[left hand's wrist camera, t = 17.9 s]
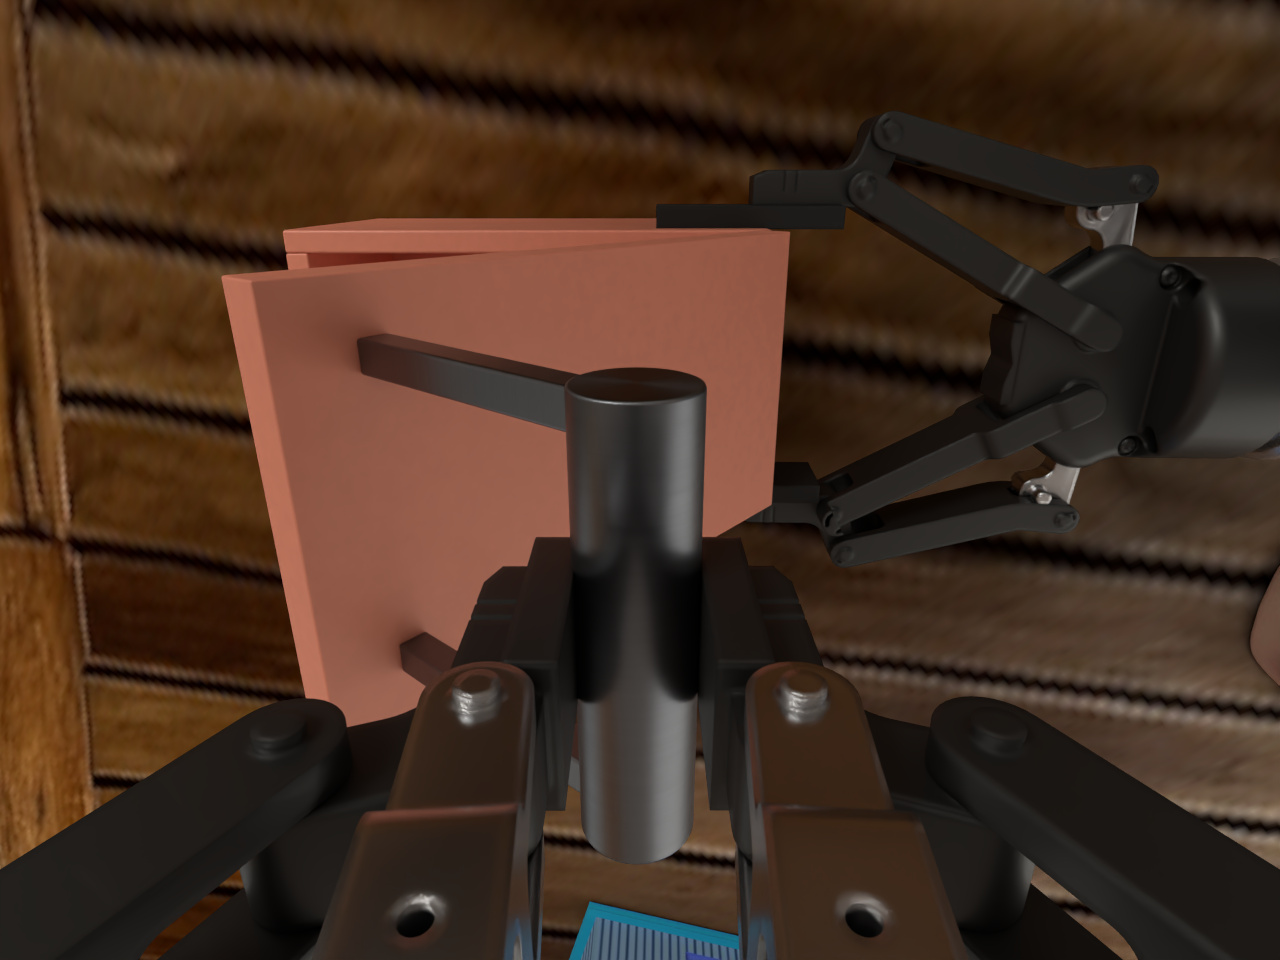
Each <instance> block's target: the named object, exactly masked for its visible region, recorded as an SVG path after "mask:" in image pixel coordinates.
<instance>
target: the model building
mask: <svg viewBox="0 0 1280 960" xmlns="http://www.w3.org/2000/svg"><path fill="white" fill-rule="evenodd" d="M569 960H740V957H739V936H737V935H733V934H728V933H724V932H720V931H715V930H711V929H707V928H702V927H698V926H694V925H689V924H685V923H681V922H676V921H672V920H668V919H663V918H659V917H655V916H650V915H646V914H641V913H637V912H633V911H628V910H624V909H620V908H615V907H611V906H607V905H602V904H598V903H594V902H590V903H589V905H588V908H587V911H586V914H585V917H584V919H583V922H582V925H581V928H580V931H579V933H578V936H577V939H576V942H575V945H574V947H573V950H572V953H571V956H570V959H569Z"/></svg>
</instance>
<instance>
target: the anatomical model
mask: <svg viewBox="0 0 1280 960" xmlns="http://www.w3.org/2000/svg"><path fill="white" fill-rule="evenodd" d="M1250 646H1251V651H1252V654H1253V656H1254V658H1255V659H1256V661H1257V662H1258V664H1259V665H1260V666H1261V667H1262V668H1263V670H1264V671H1265V672H1266V673H1267V674H1268V675H1269V676H1270V677H1271V678H1272V679H1273V680H1274V681H1275V682H1276V683H1277V684H1278V685H1279V686H1280V566H1279V567H1278V569H1277V571H1276V572H1275V574H1274V576H1273V578H1272V580H1271V582H1270V584H1269V586H1268V588H1267V591H1266V593H1265V595H1264V597H1263V599H1262V601H1261V603H1260V606H1259V609H1258V611H1257V615H1256V618H1255V622H1254V625H1253V629H1252V632H1251V638H1250Z"/></svg>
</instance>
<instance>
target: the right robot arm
mask: <svg viewBox="0 0 1280 960" xmlns="http://www.w3.org/2000/svg"><path fill="white" fill-rule="evenodd" d="M894 161H897V162H900V163H904V164H907V165H910V166H914V167H917V168H920V169H924V170H927V171H930V172H934V173H937V174H940V175H944V176H947V177H951V178H954V179H957V180H961V181H964V182H967V183H971V184H974V185H977V186H981V187H984V188H987V189H991V190H994V191H997V192H1001V193H1004V194H1007V195H1011V196H1014V197H1017V198H1021V199H1024V200H1028V201H1031V202H1036V203H1040V204H1048V205H1063V206H1065V208H1064V210H1063V211H1064V215H1065V220H1066V222H1067V223H1068V224H1069V225H1070V226H1072V227H1075V228H1080V229H1083V230H1084V231H1086V232H1087V233H1088V235H1089V237H1090V243H1091V245H1090V246H1088V247H1086V248H1085V249H1083V250H1082V251H1080V252H1078V253H1077V254H1075V255H1074V256H1072V257H1071V258H1069V259H1068V260H1066V261H1064V262H1063V263H1061V264H1060V265H1058V266H1057V267H1055V268H1054V269H1052V270H1050V271H1049V272H1047V273H1046V274H1042V273H1041V272H1039V271H1037V270H1035V269H1033V268H1032V267H1029V266H1027V265H1025V264H1023V263H1021V262H1019V261H1017V260H1016V259H1014V258H1013V257H1011V256H1010V255H1008V254H1006V253H1005V252H1003V251H1002V250H1000V249H998V248H997V247H995V246H994V245H992V244H990V243H989V242H987V241H986V240H984V239H982V238H981V237H979V236H978V235H976V234H974V233H973V232H971V231H970V230H968V229H966V228H965V227H963V226H962V225H960V224H958V223H957V222H955V221H954V220H952V219H950V218H949V217H947V216H946V215H944V214H943V213H941V212H939V211H938V210H936V209H935V208H933V207H931V206H930V205H928V204H927V203H925V202H923V201H922V200H920V199H919V198H917V197H915V196H914V195H912V194H911V193H909V192H907V191H906V190H904V189H903V188H901V187H899V186H898V185H896V184H895V183H893V182H891V181H890V180H888V179H887V175H888V173H889V171H890V169H891V167H892V164H893V162H894ZM1158 184H1159V176H1158V174H1157V172H1156V170H1155V169H1154V168H1152V167H1151V166H1146V165H1135V166H1111V167H1096V168H1084V167H1081V166H1077V165H1074V164H1071V163H1067V162H1064V161H1061V160H1058V159H1054V158H1051V157H1048V156H1044V155H1041V154H1038V153H1034V152H1031V151H1028V150H1025V149H1021V148H1018V147H1015V146H1011V145H1008V144H1005V143H1001V142H998V141H995V140H992V139H988V138H985V137H982V136H978V135H975V134H972V133H969V132H965V131H962V130H959V129H955V128H952V127H949V126H945V125H942V124H939V123H936V122H932V121H929V120H926V119H922V118H919V117H916V116H913V115H909V114H906V113H903V112H899V111H891V112H888V113H884V114H881V115H878V116H875V117H872V118H869V119H867V120H866V121H865V122H863V123H862V124H861V126H860V128H859V130H858V134H857V141H856V143H855V145H854V148H853V150H852V152H851V155H850V157H849V158H848V160H847V161H846V162H845V163H844V164H843V165H842V166H841V167H839V168H837V169H835V170H765V171H762V172H760V173H757V174H755V175H753V176H750V182H749V202H748V204H657V206H656V228H767V229H844V222H845V211H846V207H847V208H849V209H851V210H852V211H854V212H856V213H857V214H859V215H860V216H862V217H864V218H865V219H867V220H869V221H870V222H872V223H873V224H875V225H877V226H878V227H880V228H882V229H883V230H885V231H886V232H888V233H890V234H891V235H893V236H895V237H896V238H898V239H899V240H901V241H903V242H904V243H906V244H908V245H909V246H911V247H913V248H914V249H916V250H917V251H919V252H921V253H922V254H924V255H926V256H927V257H929V258H930V259H932V260H934V261H935V262H937V263H939V264H940V265H942V266H943V267H945V268H947V269H948V270H950V271H952V272H953V273H955V274H956V275H958V276H960V277H961V278H963V279H965V280H966V281H968V282H970V283H971V284H973V285H974V286H975V287H976V288H977V289H979V290H980V291H982V292H984V293H985V294H987V295H988V296H990V297H992V298H993V299H995V300H997V301H998V302H1000V303H1001V304H1003V306H1002V308H1001V309H1000V311H999V313H998V314H992V320H991V326H990V332H989V336H990V346H991V355H990V357H989V360H988V362H987V364H986V366H985V369H984V371H983V374H982V379H981V385H980V392H981V393H983V394H984V395H983V396H981V397H978V398H976V399H974V400H972V401H970V402H968V403H966V404H964V405H962V406H960V407H959V408H957V409H956V411H955V413H954V414H953V415H952V416H950V417H948V418H946V419H944V420H942V421H940V422H938V423H936V424H933V425H931V426H929V427H927V428H925V429H923V430H921V431H919V432H917V433H915V434H913V435H910V436H908V437H906V438H904V439H902V440H900V441H898V442H896V443H894V444H892V445H890V446H887V447H885V448H883V449H881V450H879V451H877V452H875V453H873V454H871V455H869V456H867V457H864V458H862V459H860V460H858V461H856V462H854V463H852V464H850V465H848V466H846V467H844V468H841V469H839V470H837V471H835V472H833V473H831V474H829V475H827V476H825V477H823V478H821V479H818V480H817V479H816V477H815V475H814V473H813V471H812V469H811V467H810V466H809V464H808V462H774V477H773V492H772V504H771V505H770V506H768V507H767V508H765V509H763V510H762V511H760V512H758V513H756V514H755V515H753V516H751V517H749V518H748V519H746V520H744V521H747V522H779V523H810V524H813V525H815V526H817V527H818V528H819V531H820V535H821V537H822V540H823V542H824V544H825V547H826V549H827V551H828V553H829V555H830V558H831V560H832V562H833V563H834V564H835V565H836V566H839V567H842V568H844V567H851V566H856V565H861V564H865V563H870V562H874V561H879V560H883V559H888V558H892V557H897V556H902V555H906V554H911V553H915V552H920V551H924V550H929V549H934V548H938V547H943V546H947V545H952V544H956V543H961V542H965V541H970V540H975V539H979V538H984V537H988V536H993V535H997V534H1002V533H1007V532H1011V531H1016V530H1025V531H1036V532H1047V533H1058V534H1061V533H1067V532H1069V531H1072V530H1073V529H1074V528H1075V527H1076V526H1077V524H1078V522H1079V513H1078V511H1077V510H1076V509H1074V508H1073V507H1072V506H1071V505H1070V504H1069V502H1070V499H1071V496H1072V493H1073V489H1074V486H1075V483H1076V480H1077V477H1078V474H1079V471H1080V468H1083V467H1086V466H1089V465H1092V464H1094V463H1096V462H1098V461H1100V460H1103V459H1106V458H1110V457H1117V456H1122V457H1140V458H1235V457H1239V456H1240V457H1246V458H1252V459H1280V258H1273V259H1270V260H1267V259H1262V258H1257V257H1151V256H1149V255H1147V254H1145V253H1143V252H1142V251H1141V250H1139V249H1138V248H1136V247H1134V246H1132V242H1133V235H1134V228H1135V221H1136V214H1137V207H1138V203H1140V202H1144V201H1146V200H1147V199H1149V198H1150V197H1151V196H1152V195H1153V194H1154V192H1155V191H1156V189H1157V186H1158ZM1031 445H1033V446H1034V447H1036V448H1037V449H1038V450H1039V451H1041V452H1042V453H1043V454H1045V455H1046V458H1045V460H1044V462H1043V463H1042V464H1041V465H1040V466H1039V467H1037V468H1035V469H1033V470H1027V471H1023V472H1022V471H1018V472H1015V473H1014V474H1013V475H1012V477H1011V481H994V482H986V483H981V484H976V485H972V486H967V487H963V488H958V489H954V490H950V491H945V492H941V493H937V494H932V495H928V496H923V497H919V498H915V499H910V500H906V501H901V502H897V503H893V504H890V503H892V502H894V501H896V500H899V499H901V498H903V497H905V496H907V495H909V494H912V493H914V492H916V491H918V490H920V489H922V488H925V487H927V486H929V485H931V484H933V483H935V482H938V481H940V480H942V479H944V478H946V477H948V476H951V475H953V474H955V473H957V472H959V471H961V470H964V469H966V468H968V467H970V466H972V465H974V464H977V463H979V462H981V461H983V460H986V459H1001V458H1004V457H1007V456H1009V455H1011V454H1013V453H1015V452H1018V451H1020V450H1022V449H1024V448H1026V447H1029V446H1031Z"/></svg>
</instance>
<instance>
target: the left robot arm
mask: <svg viewBox="0 0 1280 960" xmlns="http://www.w3.org/2000/svg"><path fill="white" fill-rule="evenodd" d="M697 696H698V705H699V714H700V723H701V733H702V742H703V751H704V760H705V769H706V778H707V787H708V796H709V805H710V810H729V812H730V820H731V827H732V833H733V837H734V839H735V842H736V852H735V871H736V893H737V914H738V936H739V957H740V960H1123V959H1121V958H1120V957H1119V956H1118V955H1117V954H1115V953H1114V952H1113V951H1112V950H1111V949H1109V948H1108V947H1107V946H1106V945H1104V944H1103V943H1102V942H1101V941H1100V940H1098V939H1097V938H1096V937H1095V936H1094V935H1092V934H1091V933H1090V932H1089V931H1088V930H1086V929H1085V928H1084V927H1083V926H1082V925H1080V924H1079V923H1078V922H1077V921H1076V920H1074V919H1073V918H1072V917H1071V916H1070V915H1068V914H1067V913H1066V912H1065V911H1064V910H1062V909H1061V908H1060V907H1059V906H1058V905H1056V904H1055V903H1054V902H1053V901H1052V900H1050V899H1049V898H1048V897H1047V896H1045V895H1044V894H1043V893H1042V892H1041V891H1039V890H1038V889H1037V888H1036V887H1035V886H1033V885H1032V884H1031V879H1032V875H1033V871H1034V867H1035V865H1036V866H1038V867H1039V868H1040V869H1041V870H1043V871H1044V872H1045V873H1046V874H1048V875H1049V876H1050V877H1051V878H1053V879H1054V880H1055V881H1056V882H1058V883H1059V884H1060V885H1061V886H1063V887H1064V888H1065V889H1066V890H1067V891H1069V892H1070V893H1071V894H1072V895H1074V896H1075V897H1076V898H1077V899H1079V900H1080V901H1081V902H1082V903H1084V904H1085V905H1086V906H1087V907H1089V908H1090V909H1091V910H1092V911H1094V912H1095V913H1096V914H1097V915H1099V916H1100V917H1101V918H1102V919H1104V920H1105V921H1106V922H1107V923H1109V924H1110V925H1111V926H1112V927H1113V928H1114V929H1116V930H1117V931H1118V932H1119V933H1120V934H1121V935H1122V936H1123V938H1124V939H1125V940H1126V941H1127V942H1128V944H1129V945H1130V946H1131V948H1132V950H1133V951H1134V953H1135V954H1136V956H1137V958H1138V960H1280V869H1278V868H1276V867H1275V866H1273V865H1272V864H1270V863H1269V862H1267V861H1265V860H1264V859H1262V858H1261V857H1259V856H1257V855H1256V854H1254V853H1253V852H1251V851H1249V850H1248V849H1246V848H1245V847H1243V846H1241V845H1240V844H1238V843H1237V842H1235V841H1234V840H1232V839H1230V838H1229V837H1227V836H1226V835H1224V834H1222V833H1221V832H1219V831H1218V830H1216V829H1214V828H1213V827H1211V826H1210V825H1208V824H1206V823H1205V822H1203V821H1202V820H1200V819H1199V818H1197V817H1195V816H1194V815H1192V814H1191V813H1189V812H1187V811H1186V810H1184V809H1183V808H1181V807H1179V806H1178V805H1176V804H1175V803H1173V802H1171V801H1170V800H1168V799H1167V798H1165V797H1164V796H1162V795H1160V794H1159V793H1157V792H1156V791H1154V790H1152V789H1151V788H1149V787H1148V786H1146V785H1144V784H1143V783H1141V782H1140V781H1138V780H1136V779H1135V778H1133V777H1132V776H1130V775H1129V774H1127V773H1125V772H1124V771H1122V770H1121V769H1119V768H1117V767H1116V766H1114V765H1113V764H1111V763H1109V762H1108V761H1106V760H1105V759H1103V758H1101V757H1100V756H1098V755H1097V754H1095V753H1094V752H1092V751H1090V750H1089V749H1087V748H1086V747H1084V746H1082V745H1081V744H1079V743H1078V742H1076V741H1074V740H1073V739H1071V738H1070V737H1068V736H1066V735H1065V734H1063V733H1062V732H1060V731H1059V730H1057V729H1055V728H1054V727H1052V726H1051V725H1049V724H1047V723H1046V722H1044V721H1043V720H1041V719H1039V718H1038V717H1036V716H1035V715H1033V714H1031V713H1029V712H1028V711H1026V710H1024V709H1022V708H1019V707H1017V706H1015V705H1012V704H1009V703H1006V702H1003V701H999V700H996V699H991V698H985V697H973V696H971V697H959V698H953V699H951V700H948V701H945V702H944V703H942V704H940V705H939V706H938V707H937V708H936V709H935V710H934V712H933V714H932V718H931V724H930V727H925V726H921V725H916V724H912V723H907V722H903V721H898V720H893V719H889V718H885V717H882V716H878V715H876V714H873V713H870V712H868V711H866V710H864V708H863V704H862V701H861V698H860V696H859V693H858V691H857V690H856V689H855V687H854V686H853V685H852V684H851V683H850V682H849V681H848V680H847V679H846V678H844V677H843V676H841V675H840V674H838V673H836V672H834V671H833V670H830V669H828V668H825V667H824V666H823V663H822V660H821V658H820V655H819V653H818V650H817V647H816V645H815V642H814V639H813V637H812V634H811V631H810V629H809V626H808V623H807V621H806V620H805V615H804V613H803V610H802V608H801V605H800V604H799V600H798V597H797V594H796V592H795V589H794V586H793V584H792V582H791V581H790V580H789V579H788V578H786V577H785V576H784V575H783V574H782V573H781V572H779V571H778V570H777V569H776V568H775V567H773V566H748V562H747V559H746V555H745V552H744V548H743V545H742V541H741V538H740V537H702V562H701V588H700V619H699V650H698V681H697ZM577 704H578V679H577V652H576V626H575V599H574V572H573V569H572V566H571V548H570V537H536V538H535V541H534V544H533V548H532V551H531V555H530V558H529V561H528V565H527V566H503V567H501V568H500V569H499V570H498V571H497V572H495V573H494V574H493V575H492V576H491V577H490V578H488V579H487V580H486V581H485V582H484V583H483V586H482V588H481V591H480V594H479V596H478V599H477V604H475V606H474V609H473V612H472V614H471V620H469V622H468V625H467V627H466V630H465V632H464V635H463V637H462V640H461V643H460V645H459V648H458V650H457V653H456V655H455V658H454V661H453V663H452V666H451V668H450V670H447V671H445V672H444V673H442V674H440V675H438V676H437V677H436V678H434V679H433V680H432V681H431V682H430V683H429V684H428V685H427V686H426V687H425V688H424V690H423V691H422V693H421V695H420V697H419V701H418V704H417V707H416V708H414V709H412V710H409V711H407V712H405V713H402V714H400V715H397V716H394V717H390V718H386V719H382V720H378V721H373V722H368V723H364V724H359V725H355V726H350V727H347V724H346V718H345V715H344V714H343V712H342V710H341V709H340V708H339V707H338V706H336V705H334V704H332V703H330V702H327V701H325V700H320V699H312V698H301V699H291V700H285V701H281V702H277V703H273V704H270V705H267V706H265V707H262V708H260V709H257V710H255V711H253V712H251V713H249V714H247V715H246V716H244V717H242V718H241V719H239V720H237V721H236V722H234V723H233V724H231V725H229V726H228V727H226V728H225V729H223V730H221V731H220V732H218V733H217V734H215V735H214V736H212V737H210V738H209V739H207V740H206V741H204V742H202V743H201V744H199V745H198V746H196V747H194V748H193V749H191V750H190V751H188V752H186V753H185V754H183V755H182V756H180V757H179V758H177V759H175V760H174V761H172V762H171V763H169V764H167V765H166V766H164V767H163V768H161V769H159V770H158V771H156V772H155V773H153V774H151V775H150V776H148V777H147V778H145V779H144V780H142V781H140V782H139V783H137V784H136V785H134V786H132V787H131V788H129V789H128V790H126V791H124V792H123V793H121V794H120V795H118V796H116V797H115V798H113V799H112V800H110V801H109V802H107V803H105V804H104V805H102V806H101V807H99V808H97V809H96V810H94V811H93V812H91V813H89V814H88V815H86V816H85V817H83V818H81V819H80V820H78V821H77V822H75V823H74V824H72V825H70V826H69V827H67V828H66V829H64V830H62V831H61V832H59V833H58V834H56V835H54V836H53V837H51V838H50V839H48V840H46V841H45V842H43V843H42V844H40V845H39V846H37V847H35V848H34V849H32V850H31V851H29V852H27V853H26V854H24V855H23V856H21V857H19V858H18V859H16V860H15V861H13V862H11V863H10V864H8V865H7V866H5V867H4V868H2V869H0V960H139V959H140V957H141V956H142V954H143V952H144V951H145V949H146V948H147V947H148V946H149V944H150V943H151V942H152V941H153V940H154V939H155V937H156V936H157V935H158V934H160V933H161V932H162V931H163V930H164V929H165V928H166V927H168V926H169V925H170V924H171V923H173V922H174V921H175V920H176V919H178V918H179V917H180V916H181V915H183V914H184V913H185V912H186V911H188V910H189V909H190V908H191V907H193V906H194V905H195V904H196V903H198V902H199V901H200V900H201V899H203V898H204V897H205V896H206V895H208V894H209V893H210V892H211V891H212V890H214V889H215V888H216V887H217V886H219V885H220V884H221V883H222V882H224V881H225V880H226V879H227V878H229V877H230V876H231V875H232V874H234V873H235V872H236V871H237V870H239V869H240V873H241V877H242V881H243V884H244V888H243V889H242V890H241V891H239V892H238V893H237V894H236V895H234V896H233V897H232V898H231V899H230V900H228V901H227V902H226V903H225V904H224V905H222V906H221V907H220V908H219V909H218V910H216V911H215V912H214V913H213V914H212V915H210V916H209V917H208V918H207V919H206V920H204V921H203V922H202V923H201V924H200V925H198V926H197V927H196V928H195V929H194V930H192V931H191V932H190V933H189V934H188V935H186V936H185V937H184V938H183V939H182V940H180V941H179V942H178V943H177V944H175V945H174V946H173V947H172V948H171V949H169V950H168V951H167V952H166V953H165V954H163V955H162V956H161V957H160V958H159V959H157V960H540V955H541V933H542V912H543V890H544V868H545V854H544V838H543V825H544V818H545V811H565V807H566V798H567V790H568V781H569V772H570V764H571V755H572V747H573V738H574V730H575V721H576V713H577Z"/></svg>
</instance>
